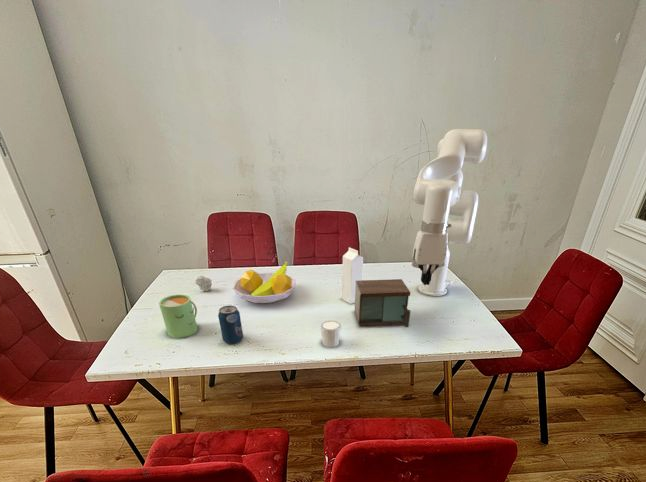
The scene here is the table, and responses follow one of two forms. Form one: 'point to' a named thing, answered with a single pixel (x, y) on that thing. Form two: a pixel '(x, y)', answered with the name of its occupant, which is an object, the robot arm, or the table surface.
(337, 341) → the shot glass
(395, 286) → the cabinet
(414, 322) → the table surface
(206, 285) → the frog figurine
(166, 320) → the mug
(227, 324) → the soda can
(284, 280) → the fruit bowl
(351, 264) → the milk
